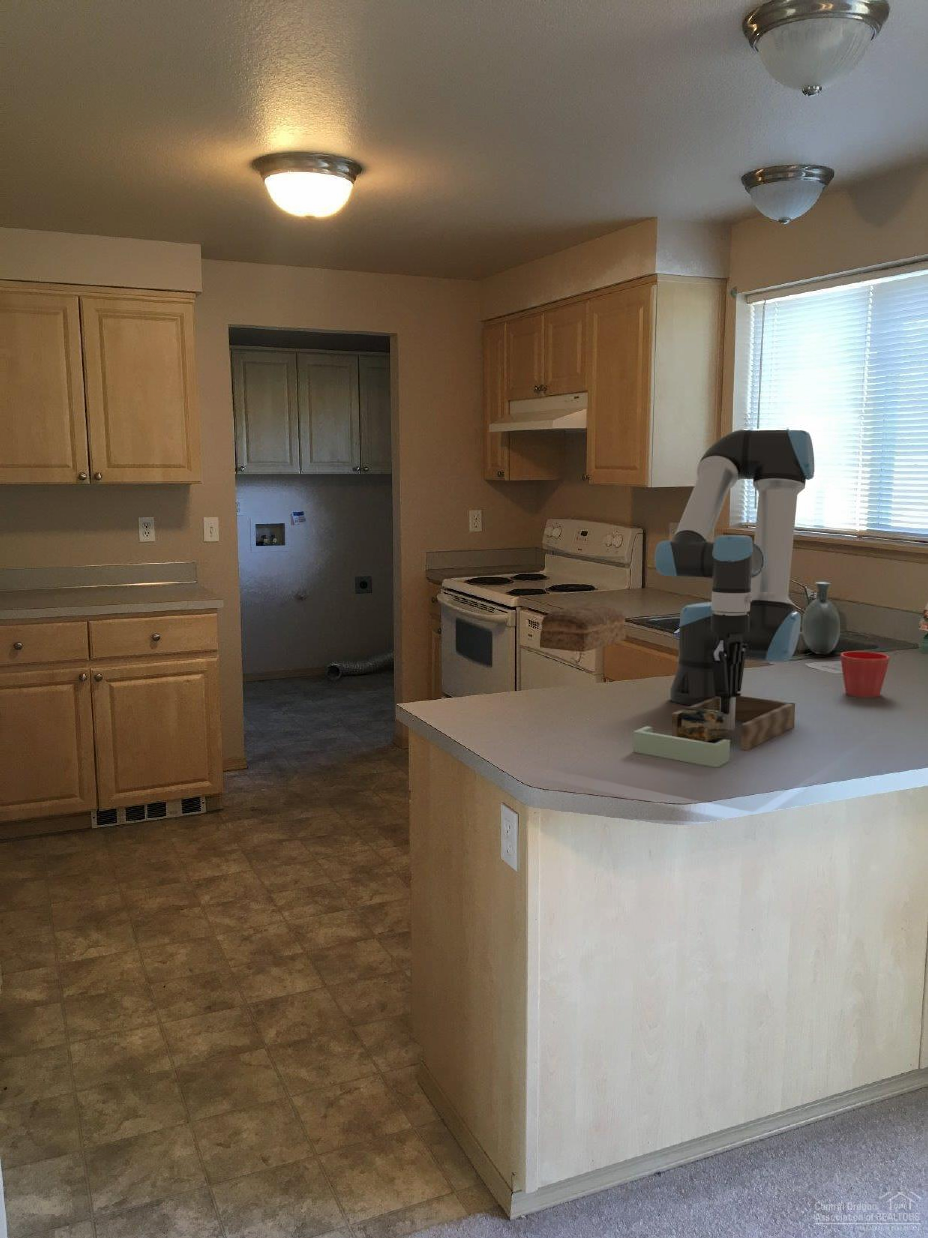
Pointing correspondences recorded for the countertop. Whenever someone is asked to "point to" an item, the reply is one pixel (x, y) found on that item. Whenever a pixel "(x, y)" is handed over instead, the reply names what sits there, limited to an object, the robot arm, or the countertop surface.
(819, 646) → the flask
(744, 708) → the cubby
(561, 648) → the bread
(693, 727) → the rock
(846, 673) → the flower pot
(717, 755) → the bracket
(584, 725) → the countertop surface
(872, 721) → the countertop surface
